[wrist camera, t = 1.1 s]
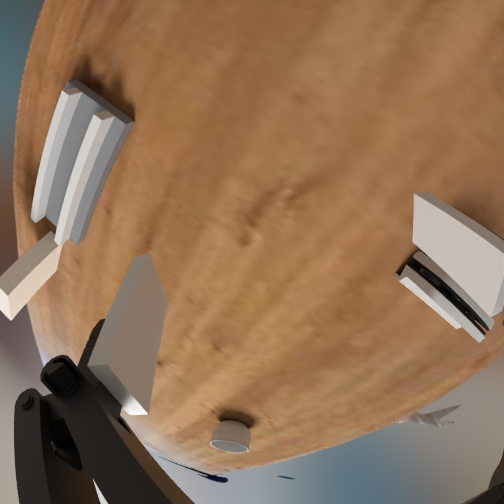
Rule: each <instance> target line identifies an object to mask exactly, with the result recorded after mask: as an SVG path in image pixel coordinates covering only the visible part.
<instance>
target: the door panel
mask: <svg viewBox="0 0 504 504" xmlns="http://www.w3.org/2000/svg"><path fill="white" fill-rule="evenodd" d="M54 239H55V234H54V233H53V232H52V231H50V232H49V233H48V234H47V235H45V236H44V237H43V238H42V239H41V240H39V241H38V242H37V243H36V244H35V245H34V246H33V247H31V248H30V249H29V250H28V251H27V252H26V253H25V254H24V255H23V256H22V257H20V258H19V259H18V260H17V261H16V262H15V263H14V264H13V265H12V266H11V267H10V268H9V269H8V270H7V271H6V272H5V273H4V274H3V275H2V276H1V277H0V310H1V311H2V312H3V313H4V314H5V315H6V316H7V317H8V318H9V319H10V320H12V319H13V318H14V316H16V314H17V313H18V312H19V311H20V310H21V309H22V307H23V306H24V305H25V304H26V303H27V302H28V301H29V299H30V298H31V297H32V296H33V295H34V294H35V293H36V292H37V291H38V290H39V288H40V287H41V286H42V285H43V284H44V283H45V282H46V281H47V280H48V279H49V278H50V277H51V276H52V275H53V274H54V273H55V272H56V271H57V266H58V261H59V257H60V252H61V248H62V245H61V246H59V245H58V244H57V243H56V242H55V241H54Z"/></svg>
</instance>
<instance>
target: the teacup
mask: <svg viewBox="0 0 504 504" xmlns="http://www.w3.org/2000/svg"><path fill="white" fill-rule="evenodd" d="M250 436H251V434H250V430H249V429H248V428H247V427H246V426H245V425H244V424H243V423H241V422H238V421H233V420H225V421H223V422H220V423H218V424H217V425H216V426H215V428H214V431H213V434H212V438H211V441H210V444H211V445H212V446H213V447H215V448H217V449H220V450H223V451H227V452H228V453H245V452H248V451H249V444H250Z"/></svg>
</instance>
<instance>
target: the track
mask: <svg viewBox="0 0 504 504" xmlns="http://www.w3.org/2000/svg"><path fill="white" fill-rule="evenodd" d="M134 122H135V121H134V120H133V119H131V118H130V117H129V116H127V115H126V114H124V113H123V112H122V111H120V110H119V109H118V108H116V107H115V106H114V105H112V104H111V103H109V102H108V101H107V100H105V99H104V98H102V97H101V96H100V95H98V94H97V93H96V92H94V91H93V90H91V89H90V88H89V87H87V86H86V85H84V84H83V83H81V82H80V81H79V80H77V79H76V80H70V81H67V82H66V85H65V88H64V90H62V92H61V95H60V98H59V101H58V103H57V106H56V109H55V112H54V115H53V119H52V122H51V125H50V128H49V132H48V135H47V139H46V142H45V146H44V150H43V154H42V158H41V162H40V167H39V171H38V176H37V181H36V186H35V192H34V198H33V204H32V210H31V219H32V220H33V221H34V222H35V223H37V222H38V221H39V220H40V219H42V218H43V217H44V216H45V217H46V218H47V219H48V220H50V221H51V222H52V223H53V224H54V225H55V226H56V227H57V230H56V234H55V239H54V241H55V242H56V243H57V244H58V245H59V246H61V245H62V244H63V243H64V242H66V241H67V240H68V239H70V240H71V241H73V242H74V243H75V244H76V245H78V244H79V243H80V242H81V241H82V240H84V237H85V234H86V231H87V229H88V226H89V223H90V220H91V218H92V215H93V212H94V210H95V207H96V204H97V202H98V199H99V197H100V194H101V192H102V190H103V187H104V185H105V182H106V180H107V178H108V175H109V173H110V171H111V169H112V167H113V164H114V162H115V160H116V158H117V156H118V154H119V152H120V149H121V147H122V145H123V143H124V141H125V139H126V137H127V135H128V133H129V131H130V130H131V128H132V126H133V124H134Z"/></svg>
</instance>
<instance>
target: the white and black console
mask: <svg viewBox="0 0 504 504" xmlns="http://www.w3.org/2000/svg"><path fill="white" fill-rule="evenodd" d="M412 257H413V258H414V260H413V262H414V263H416V264H417V265H418V266H419V267H420V268H421V269H420V271H419V270H418V269H417V268H415V267H414V266H413V265H412V264H410V265H409V266H408V265H406V266H405V268H404V270H403V272H402V274H401V275H400V276H399V275H398V274H397V273H395V274H394V275H393V276H394V277H395V278H396V279H397V280H399V281H400V282H401V283H402V284H404V285H405V286H406V287H407V288H408V289H410V290H411V291H412V292H413V293H415V294H416V295H417V296H418V297H419V298H421V299H422V300H423V301H424V302H426V303H427V304H428V305H429V306H430V307H431V308H433V309H434V310H435V311H436V312H437V313H439V314H440V315H441V316H442V317H443V318H444V319H446V320H447V321H448V322H449V323H450V324H451V325H452V326H454V327H455V328H456V329H458V328H460V327H463V328H464V329H465V330H466V331H467V332H468V333H469V334H470V335H471V336H473V337H474V338H475V339H476V340H477V341H478V342H479V343H480V342H481V341H482V340H483V339H484V338H485V334H486V333H485V332H484V331H483V329H482V328H481V327H480V326H479V325H478V324H477V323H476V322H475V321H474V320H476V321H477V322H478V323H480V324H481V325H482V326H483V327H484V328H485V329H486V330H487V331H488V330H489V329H490V330H491V329H492V327H493V325H494V323H495V322H494V320H493V318H492V317H489V315H488V314H487V313H486V312H485V311H484V310H483V309H482V308H481V307H480V306H479V305H478V304H477V303H476V302H475V301H474V300H473V299H472V297H471V296H470V295H469V294H468V293H467V292H466V291H465V290H464V289H463V288H462V287H461V286H460V285H459V284H458V283H457V282H456V281H454V280H453V279H452V278H451V277H450V276H449V275H448V274H447V273H446V272H445V271H444V270H443V269H442V268H441V267H440V266H439V265H438V264H437V263H435V262H434V261H433V260H432V259H430V258H429V257H428V256H426V255H425V254H423V253H422V252H420V251H418V252H416V253H415V254H414V255H413V256H412ZM441 285H443V286H444V287H445V288H446V289H447V290H448V291H450V292H451V296H450V297H449V296H448V295H447V294H446V293H445V292H444V291H443V290H442V289H441V288H440V286H441ZM464 307H465V309H464V310H465V311H466V312H467V313H468V314H467V313H466V312H465V311H464V310H463V308H464Z"/></svg>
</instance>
